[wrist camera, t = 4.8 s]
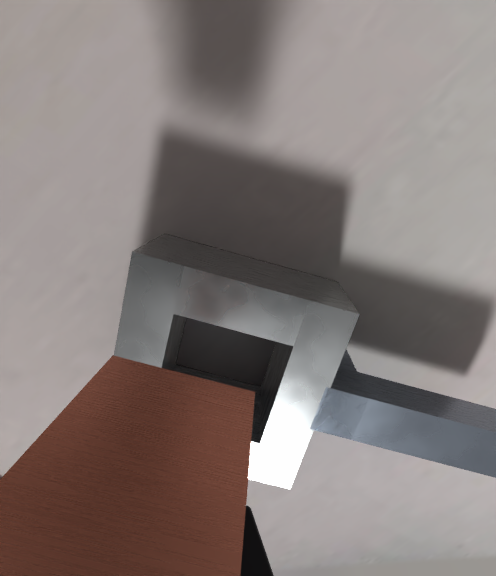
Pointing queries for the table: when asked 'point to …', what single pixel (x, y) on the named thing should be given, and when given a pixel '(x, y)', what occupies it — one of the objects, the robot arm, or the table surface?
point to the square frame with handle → (291, 360)
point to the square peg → (133, 480)
